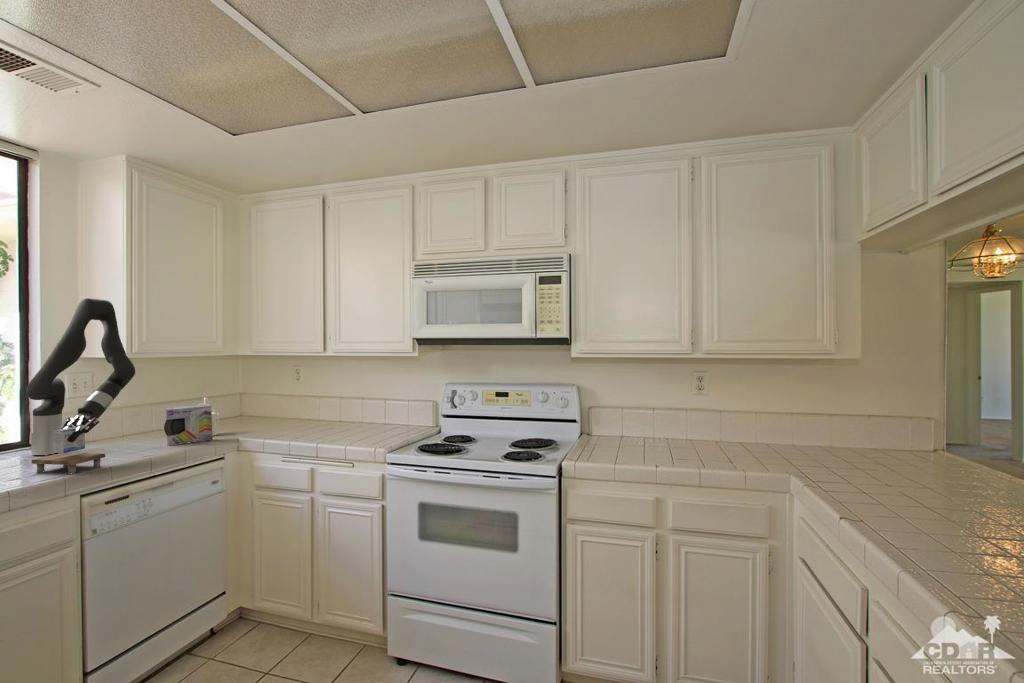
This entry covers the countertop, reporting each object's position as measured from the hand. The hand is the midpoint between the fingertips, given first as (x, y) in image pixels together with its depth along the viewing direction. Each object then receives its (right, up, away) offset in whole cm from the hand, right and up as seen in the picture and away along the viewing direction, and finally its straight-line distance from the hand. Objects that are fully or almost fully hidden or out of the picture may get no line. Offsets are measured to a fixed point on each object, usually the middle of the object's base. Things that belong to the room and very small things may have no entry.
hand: (64, 441), depth 179 cm
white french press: (+11, -11, +67) cm, 69 cm away
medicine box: (0, -4, +2) cm, 5 cm away
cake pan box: (+14, -11, +49) cm, 52 cm away
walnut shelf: (0, -11, +2) cm, 11 cm away
